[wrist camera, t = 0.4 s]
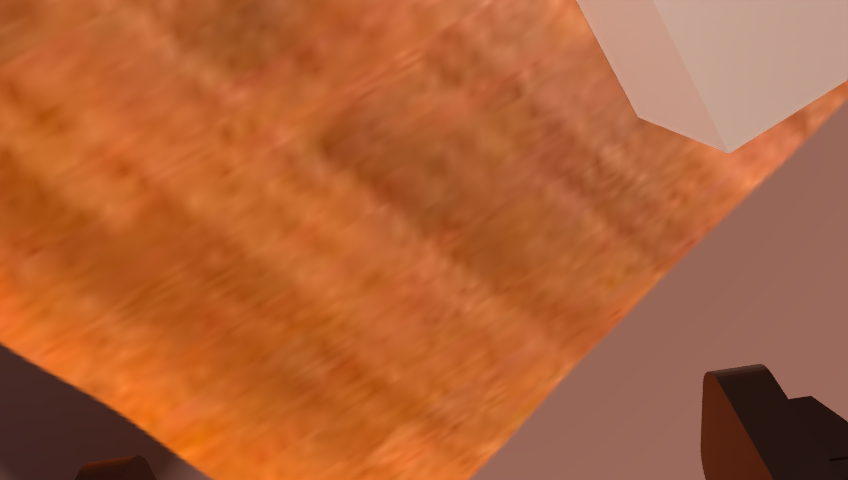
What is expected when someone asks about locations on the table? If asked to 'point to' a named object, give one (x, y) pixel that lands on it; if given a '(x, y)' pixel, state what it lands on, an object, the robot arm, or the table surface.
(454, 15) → the table surface
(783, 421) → the robot arm
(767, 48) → the grey cover
